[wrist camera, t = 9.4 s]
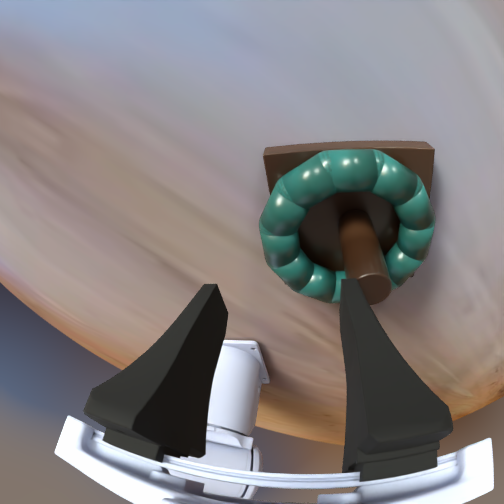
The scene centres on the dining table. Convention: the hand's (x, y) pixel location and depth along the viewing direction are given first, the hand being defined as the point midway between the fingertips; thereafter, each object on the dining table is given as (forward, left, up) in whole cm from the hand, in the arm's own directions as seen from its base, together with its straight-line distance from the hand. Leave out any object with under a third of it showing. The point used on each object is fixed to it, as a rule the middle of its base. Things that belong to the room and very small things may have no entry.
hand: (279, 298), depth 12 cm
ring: (0, -4, -4) cm, 5 cm away
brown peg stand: (0, -4, -6) cm, 7 cm away
